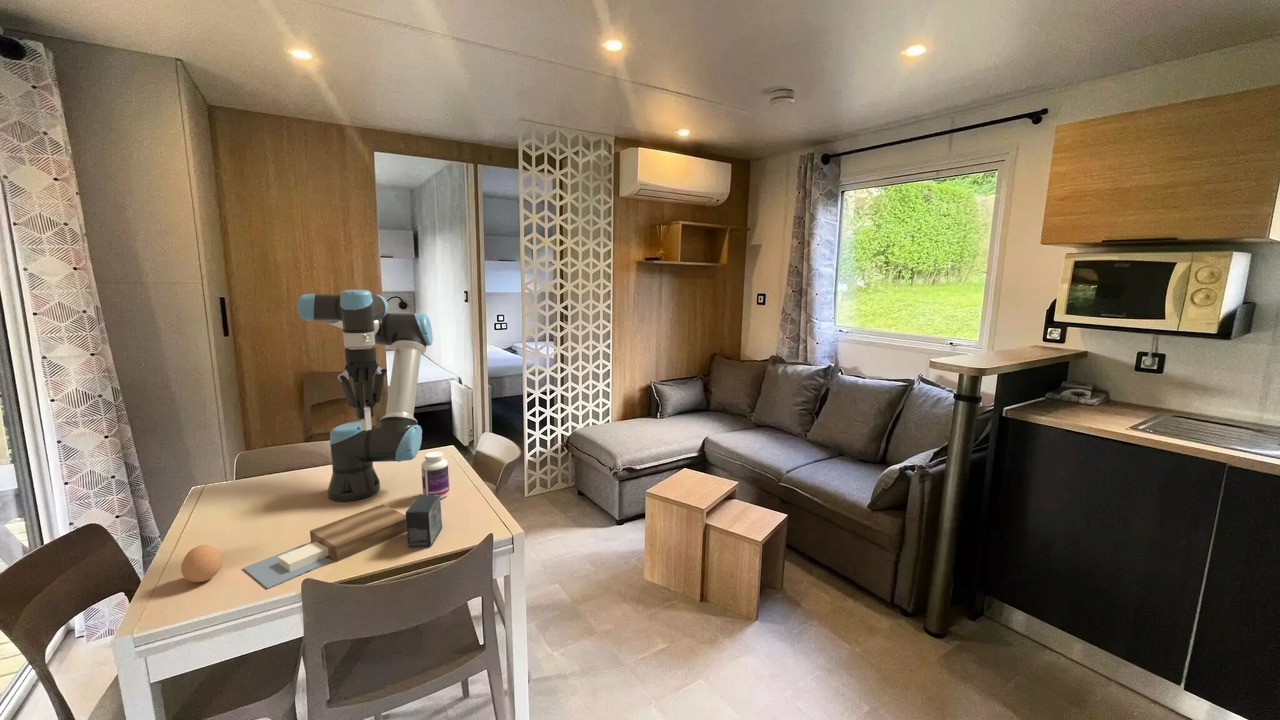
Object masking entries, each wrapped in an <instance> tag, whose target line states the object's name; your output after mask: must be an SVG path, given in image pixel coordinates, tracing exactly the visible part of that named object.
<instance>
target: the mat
mask: <svg viewBox="0 0 1280 720" xmlns="http://www.w3.org/2000/svg"><path fill="white" fill-rule="evenodd" d="M306 545H307V544H306V543H304V544H301V545H299V546H296V547H294V548H291V549H288V550H286V551H283V552H280V553H278V554H275V555H272V556H270V557H268V558H264V559H262V560H260V561H257V562H254V563H252V564H250V565H246V566H245V567H242V570H244V572H246V573H247V574H248V575H250V576H251V577H252V578H253V577H254V580H255V581H256V582H258V583H259V582H260V583H259V584H261V585H262V586H263V587H264V588H265V587H266V588H265V589H267V590H269V589H272V588H274V587H276V586H279V585H282V584H283V582H284V583H286V582H288V581H291V580H292V578H293V579H295V578H298V577H299V575H300V576H302V575H304V574H303V573H305V572H307V571H309V572H311V571H310V570H312V571H314V570H316V569H318V567H319V568H321V567H323V566H325V564H326V565H328V564H330V563H332V560H331V559H329V558H327V556H326V557H324V558H322V559H319V560H317V561H315V562H312V563H310V564H308V565H305V566H303V567H301V568H298V569H296V570H294V571H291V572H290V571H288V570H287V569H285V568H284V567H282V566H281V565H279V563H278V556H281V555H283V554H286V553H288V552H291V551H293V550H296V549H298V548H301V547H303V546H306ZM315 568H316V569H315ZM313 569H314V570H313ZM307 573H308V572H307ZM301 574H302V575H301ZM305 574H306V573H305ZM297 576H298V577H297ZM294 577H295V578H294ZM290 579H291V580H290ZM285 581H286V582H285ZM278 584H279V585H278Z"/></svg>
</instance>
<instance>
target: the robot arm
mask: <svg viewBox="0 0 1280 720" xmlns="http://www.w3.org/2000/svg"><path fill="white" fill-rule="evenodd" d="M296 307H297V313H298V315H299V318H300V319H302V320H303V321H312V322H315V321H316V322H317V321H319V322H323V323H326V324H329V325H330V326H334V327H336V328H338V329H341V330H342V333H343V334H342V335H343V336H342V337H343V345H344V347H346V348H345V349H344V358H345V359H344V360H345V367H344V371H343V372H342V373H339V374H336V376H335V377H336V379H337V380H338V381H339V382H340V384H341V387H342V390H343V393H344V395H345V398H346V400H347V403H348V406H350V407H351V408H355V409H356V414H357V418H358V419H359V420H357V421H351V422H347V423H343V424H340V425H337V426H336V427H334V428H332V429H331V431H330V433H329V440H330V441H329V445H330V458H331V467H332V469H331V470H332V474H331V478H330V481H329V485H328V488H327V497H328V498H329V499H330V500H331V501H335V502H353V501H358V500H363V499H366V498H368V497H371V496H373V495H375V494H377V493H378V492H379V491H380V490H381V481H380V479H379V476H378V475H377V474H378V473H377V472H376V470H375V468H374V464H373V463H379V462H380V463H381V462H384V463H385V462H399V463H400V462H407V461H412V460H414V459H415V458H416V457H417V455H418V453H419V452H420V449H421V446H422V439H423V436H422V435H423V429H422V427H421V425H419V424H418V420H417V419H416V418H415V417H414V413H415V405H416V398H417V389H418V381H419V372H420V371H419V370H420V365H421V355H423V354H424V353H426V351H427V347H430V346H432V344H433V342H434V341H433V339H434V338H433V337H434V336H433V329H432V324H431V321H430V318H429V317H428V316H427V314H425V313H416V312H414V313H396V312H395V313H389V304H388V301H387V300H386V298H385V297H383V295H380V294H376V293H372V292H371V291H369V290H367V289H346V290H343V291H341V292H340V294H329V293H328V294H322V293H321V294H319V293H309V294H307V293H306V294H305V293H304V294H302V295H300V296H299V297H298V300H297V306H296ZM375 345H378V346H379V345H381V346H390V349H391V350H392V351H393V352H394V355H393V360H392V361H393V362H392V367H391V368H392V369H391V373H390V374H391V375H390V382H389V389H388V396H387V404H386V412H385V415H384V416H382V417H381V418H380V419H379V422H378V423H379V424H378V425H376V426H375V425H372V418H373V417H374V407H375V406H376V404H379V403H380V402H381V396H382V390H383V383H384V377H385V375H386V374H387V372H388V371H387V369H386V368H383V367H380V366H379V364H378V363H377V349H376V347H375ZM373 377H374V379H373ZM349 378H351V379H352V383H353V386H354V388H353V387H352V384H351V382H350V381H349Z"/></svg>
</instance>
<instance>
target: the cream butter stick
mask: <svg viewBox="0 0 1280 720" xmlns="http://www.w3.org/2000/svg"><path fill="white" fill-rule="evenodd" d="M324 557H326V558H327V557H330V556H329V551H328V548H327V547H325V546H324V545H322V544H320V543H318V542H317V541H316V542H313V543H311V542H310V543H309V544H306V546H303V547H301V548H298V549H296V550H293V551H291V552H288V553H286V554H283V555H281V556H278V563H279V565H281V566H282V567H284V568H285V569H287V570H288V571H290V572H291V571H294V570H296V569H298V568H301V567H303V566H305V565H308V564H310V563H312V562H315V561H317V560H319V559H322V558H324Z"/></svg>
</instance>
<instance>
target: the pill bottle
mask: <svg viewBox="0 0 1280 720" xmlns="http://www.w3.org/2000/svg"><path fill="white" fill-rule="evenodd" d="M420 467H421V481H422V495H440V500H442V499H444V498H446V497H447V496H448V495H449V494H450V479H449V464H448V460H447V459H445V458H444V452H443V451H430V452H427V453H425V455H424V461H423V462H422V463H421V466H420Z"/></svg>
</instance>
